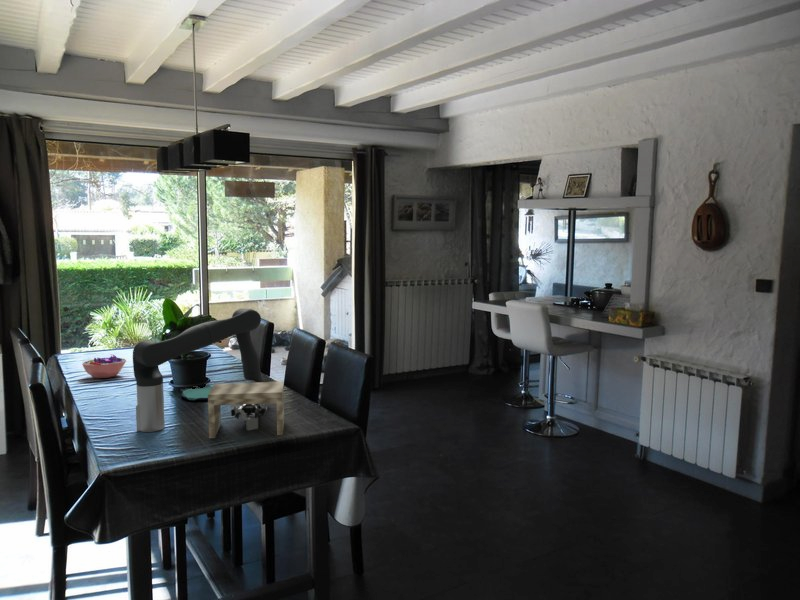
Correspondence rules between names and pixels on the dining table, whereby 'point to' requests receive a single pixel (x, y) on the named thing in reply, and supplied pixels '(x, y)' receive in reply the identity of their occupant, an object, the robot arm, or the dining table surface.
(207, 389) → the teal flat tray
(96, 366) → the cell model
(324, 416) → the dining table surface
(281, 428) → the small wooden stool
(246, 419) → the lighter
